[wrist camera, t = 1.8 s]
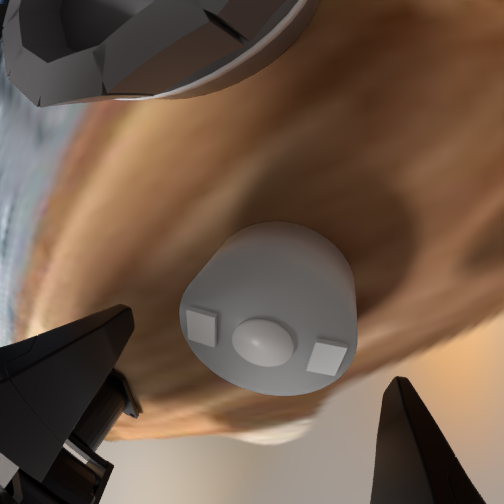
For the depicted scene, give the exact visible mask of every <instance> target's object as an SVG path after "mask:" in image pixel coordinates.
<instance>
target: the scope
mask: <svg viewBox="0 0 504 504" xmlns="http://www.w3.org/2000/svg"><path fill="white" fill-rule="evenodd" d="M7 8H8V4H0V37H1V35H2V30H3V28H4V27H3V23H4V19H5V15H6V11H7Z"/></svg>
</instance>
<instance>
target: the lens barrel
mask: <svg viewBox="0 0 504 504" xmlns="http://www.w3.org/2000/svg"><path fill="white" fill-rule="evenodd" d="M319 2H320V0H10V1H9V4H8V8H7V11H6V15H5V19H4V23H3V27H4V28H3V30H2V35H3V48H4V57H5V65H6V72H7V77H8V76H9V80H10V81H11V82H12V83H13V84H14V85H15V86H16V87H17V88H18V89H19V90H20V91H21V92H22V93H23V94H24V95H25V96H26V97H27V98H28V99H29V100H30V101H31V102H33V103H34V104H35V105H36V106H37V107H39V106H40V108H41V107H48V106H55V105H64V104H74V103H86V102H95V101H103V100H111V99H115V100H149V99H170V100H173V99H186V98H192V97H197V96H202V95H206V94H209V93H213V92H216V91H219V90H222V89H224V88H227V87H229V86H231V85H234V84H236V83H239V82H240V81H242V80H244V79H246V78H248V77H250V76H252V75H253V74H255V73H257V72H258V71H260V70H261V69H263V68H264V67H266V66H267V65H269V64H270V63H271V62H273V61H274V60H275V59H276V58H277V57H279V56H280V55H281V54H282V53H284V52H285V51H286V50H287V49H288V48H289V47H290V46H291V45H292V44H293V43H294V42H295V41H296V40H297V39H298V37H299V36H300V35H301V33H302V32H303V31H304V29H305V28H306V27H307V26H308V24H309V22H310V21H311V19H312V17H313V15H314V14H315V12H316V10H317V7H318V4H319Z"/></svg>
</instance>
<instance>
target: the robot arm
mask: <svg viewBox="0 0 504 504" xmlns="http://www.w3.org/2000/svg"><path fill="white" fill-rule="evenodd" d="M134 327H135V324H134V318H133V313H132V309H131V308H130V307H129V306H126V305H123V304H119V305H116V306H113V307H111V308H108V309H105V310H103V311H100V312H97V313H95V314H92V315H90V316H87V317H84V318H82V319H79V320H76V321H74V322H71V323H68V324H66V325H63V326H60V327H58V328H55V329H52V330H50V331H47V332H45V333H42V334H39V335H38V336H34V337H31V338H28V339H26V340H23V341H20V342H17V343H14V344H10V345H7V346H3V347H0V504H99V502H100V499H101V497H102V494H103V492H104V489H105V487H106V485H107V482H108V480H109V477H110V475H111V473H112V470H113V468H114V465H113V464H111V463H110V462H108V461H106V460H104V459H103V458H102V457H100V456H99V455H98V454H96V453H95V451H96V450H97V448H98V447H99V446H100V444H101V443H102V441H103V440H104V438H105V437H106V435H107V434H108V433H109V431H110V430H111V428H112V427H113V425H114V424H115V422H116V421H117V420H118V418H119V417H120V415H121V414H122V412H123V413H125V414H127V415H129V416H131V417H133V418H136V419H137V418H138V416H139V413H138V411H137V408H136V406H135V403H134V401H133V398H132V396H131V393H130V390H129V388H128V385H127V382H126V379H125V378H124V377H123V376H122V375H121V374H119V373H118V372H116V371H114V370H112V368H113V367H114V365H115V364H116V362H117V360H118V358H119V357H120V355H121V353H122V351H123V349H124V347H125V345H126V343H127V342H128V340H129V338H130V336H131V334H132V332H133V330H134ZM64 443H66V444H67V445H68V446H69V447H71V448H72V449H73V450H74V451H75V452H77V453H78V454H79V455H81V456H82V457H83V458H84V459H86V460H87V461H88V462H87V463H86V464H84V463H83V462H82V461H80V460H79V459H78V458H76V457H75V456H74V455H73V454H71V453H70V452H69V451H68V450H66V449H65V448H64V447H63V444H64ZM370 504H486V503H485V501H484V500H483V498H482V497H481V495H480V494H479V492H478V491H477V489H476V488H475V487H474V485H473V484H472V482H471V480H470V479H469V478H468V476H467V474H466V473H465V471H464V469H463V468H462V466H461V464H460V462H459V461H458V459H457V457H455V454H454V452H453V450H452V449H451V447H450V445H449V443H448V442H447V440H446V438H445V437H444V435H443V433H442V432H441V430H440V429H439V427H438V425H437V424H436V422H435V420H434V419H433V417H432V416H431V414H430V412H429V411H428V409H427V407H426V406H425V404H424V403H423V401H422V400H421V398H420V397H419V395H418V393H417V392H416V390H415V389H414V387H413V386H412V384H411V383H410V381H409V380H408V379H407V378H406V377H399V376H397V377H395V378H394V379H393V380H392V382H391V383H390V384H389V386H388V388H387V389H386V390H385V392H384V394H383V399H382V407H381V414H380V421H379V427H378V433H377V442H376V457H375V467H374V477H373V486H372V494H371V502H370Z"/></svg>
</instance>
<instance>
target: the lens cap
mask: <svg viewBox="0 0 504 504" xmlns="http://www.w3.org/2000/svg"><path fill="white" fill-rule="evenodd" d="M179 319H180V325H181V329H182V332H183V335H184V337H185V339H186V342H187V343H188V345H189V347H190V348H191V350H192V351H193V353H194V354H195V355H196V356H197V358H198V359H199V360H200V361H201V362H202V363H203V364H204V365H205V366H206V367H208V368H209V369H210V370H211V371H212V372H214V373H215V374H217V375H218V376H220V377H221V378H223V379H224V380H226V381H228V382H230V383H232V384H234V385H236V386H239V387H241V388H244V389H247V390H250V391H253V392H257V393H262V394H268V395H277V396H292V395H300V394H306V393H310V392H313V391H316V390H319V389H322V388H324V387H326V386H328V385H329V384H331V383H333V382H334V381H336V380H337V379H338V378H339V377H340V376H342V375H343V374H344V372H345V371H346V370H347V369H348V367H349V366H350V364H351V363H352V361H353V358H354V356H355V353H356V348H357V310H356V291H355V281H354V276H353V273H352V270H351V267H350V265H349V263H348V261H347V260H346V258H345V256H344V255H343V254H342V252H341V251H340V250H339V249H338V248H337V247H336V246H335V245H334V244H333V243H332V242H331V241H330V240H328V239H327V238H326V237H324V236H323V235H321V234H320V233H318V232H316V231H314V230H312V229H310V228H307V227H305V226H302V225H298V224H294V223H288V222H263V223H258V224H254V225H250V226H248V227H246V228H243V229H241V230H239V231H238V232H236V233H235V234H233V235H232V236H231V237H229V238H228V239H227V240H226V241H225V242H224V243H223V245H222V246H221V247H220V248H219V249H218V250H217V252H216V253H215V254H214V255H213V256H212V258H211V259H210V260H209V261H208V262H207V264H206V265H205V266H204V267H203V268H202V270H201V271H200V272H199V273H198V274H197V276H196V277H195V278H194V279H193V280H192V282H191V283H190V284H189V285H188V287H187V288H186V290H185V292H184V294H183V296H182V299H181V302H180V308H179Z"/></svg>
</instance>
